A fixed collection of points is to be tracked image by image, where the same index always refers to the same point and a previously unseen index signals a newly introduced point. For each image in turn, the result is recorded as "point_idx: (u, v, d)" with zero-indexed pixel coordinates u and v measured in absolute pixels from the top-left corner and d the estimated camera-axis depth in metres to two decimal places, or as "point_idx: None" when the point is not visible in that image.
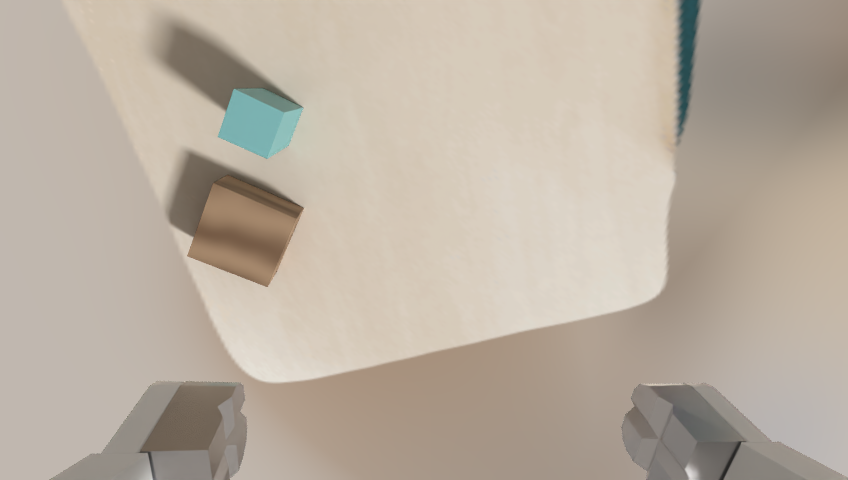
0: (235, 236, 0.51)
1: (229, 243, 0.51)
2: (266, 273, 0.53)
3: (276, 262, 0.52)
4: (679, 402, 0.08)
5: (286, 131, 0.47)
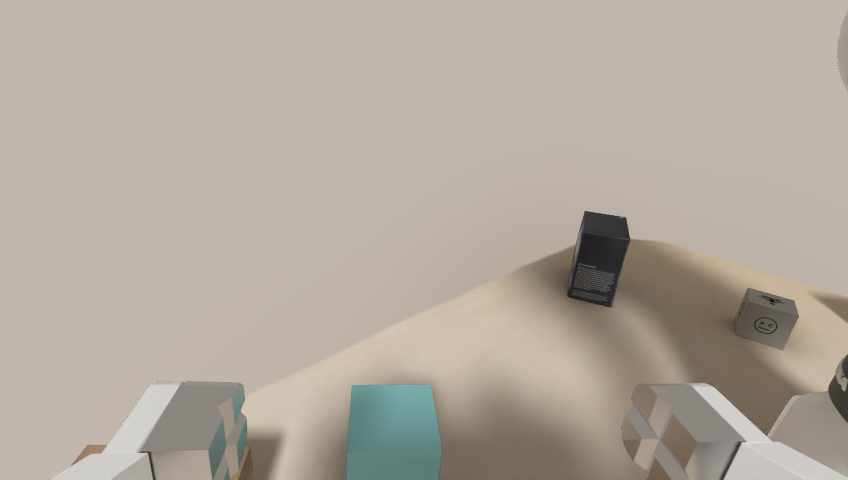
0: None
1: None
2: None
3: None
4: (679, 402, 0.08)
5: None
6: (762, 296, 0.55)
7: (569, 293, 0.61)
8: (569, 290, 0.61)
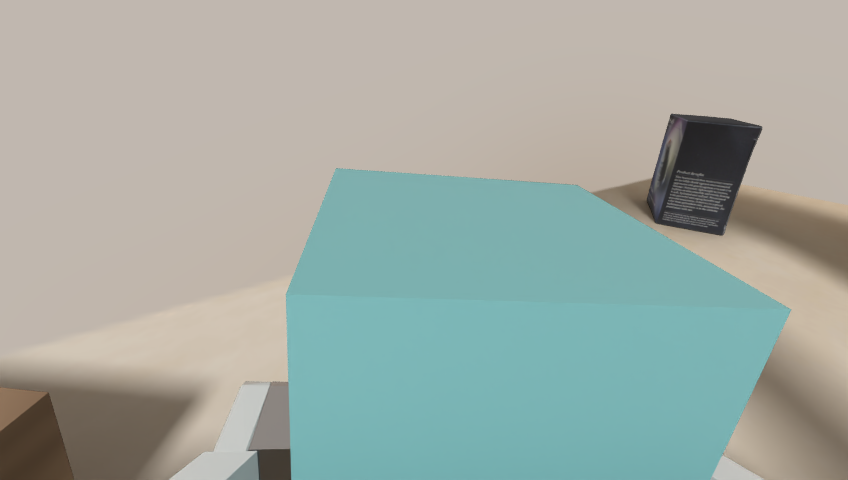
0: None
1: None
2: None
3: None
4: None
5: None
6: None
7: (659, 218, 0.43)
8: (659, 213, 0.43)
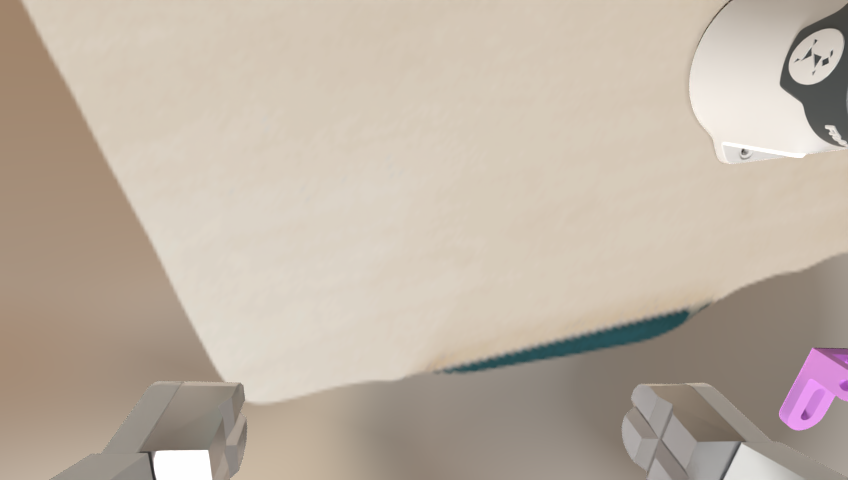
0: None
1: None
2: None
3: None
4: (679, 402, 0.08)
5: None
6: None
7: None
8: None
